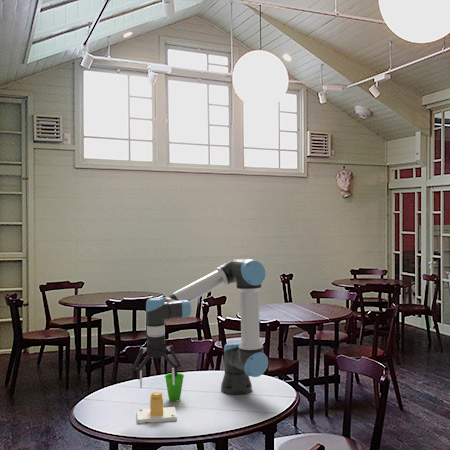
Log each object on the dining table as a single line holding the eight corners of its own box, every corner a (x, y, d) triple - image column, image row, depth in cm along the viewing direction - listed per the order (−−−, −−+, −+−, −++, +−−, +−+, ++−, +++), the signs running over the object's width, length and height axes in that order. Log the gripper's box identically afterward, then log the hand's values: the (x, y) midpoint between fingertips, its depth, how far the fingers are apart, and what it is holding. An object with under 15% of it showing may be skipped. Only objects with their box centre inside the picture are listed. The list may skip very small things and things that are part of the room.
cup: (181, 403, 222) (180, 379, 222) (162, 402, 224) (161, 378, 224) (186, 396, 231) (186, 373, 231) (168, 395, 232) (168, 372, 233)
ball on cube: (162, 410, 209) (162, 391, 209) (163, 414, 204) (163, 395, 204) (150, 411, 208) (150, 392, 208) (150, 415, 203) (150, 396, 203)
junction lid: (174, 410, 213) (174, 397, 213) (176, 420, 201) (176, 407, 201) (137, 412, 210) (137, 400, 210) (137, 423, 198) (137, 409, 199)
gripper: (184, 331, 212) (186, 380, 212) (126, 335, 208) (127, 385, 208) (186, 334, 205) (187, 385, 205) (125, 339, 201) (127, 391, 200)
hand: (157, 385), depth 206 cm, fingers open, 13 cm apart
